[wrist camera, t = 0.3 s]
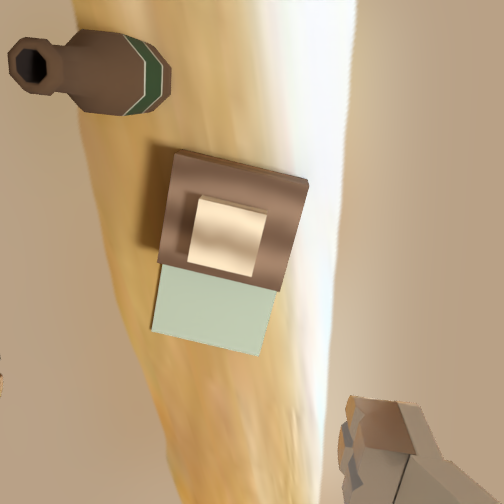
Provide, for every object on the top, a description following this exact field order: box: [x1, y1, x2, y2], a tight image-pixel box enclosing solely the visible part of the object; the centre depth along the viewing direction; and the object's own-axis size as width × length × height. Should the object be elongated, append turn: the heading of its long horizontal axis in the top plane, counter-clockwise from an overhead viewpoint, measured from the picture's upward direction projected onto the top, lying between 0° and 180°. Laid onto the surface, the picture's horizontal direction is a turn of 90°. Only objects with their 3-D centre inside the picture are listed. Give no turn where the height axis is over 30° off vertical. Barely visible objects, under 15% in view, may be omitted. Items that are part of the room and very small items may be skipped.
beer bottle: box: [8, 29, 171, 116], centre depth 39 cm, size 8×8×24 cm
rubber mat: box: [152, 264, 277, 356], centre depth 60 cm, size 12×16×1 cm
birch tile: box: [187, 195, 267, 277], centre depth 51 cm, size 8×8×2 cm
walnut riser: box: [157, 149, 309, 292], centre depth 54 cm, size 14×16×4 cm
